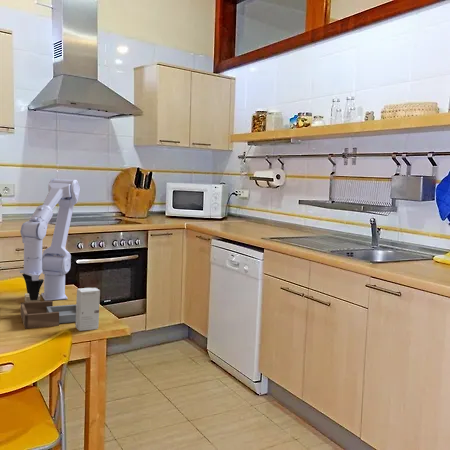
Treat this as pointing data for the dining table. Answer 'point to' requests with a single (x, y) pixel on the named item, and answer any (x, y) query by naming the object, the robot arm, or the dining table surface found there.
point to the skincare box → (87, 308)
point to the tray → (64, 312)
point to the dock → (38, 314)
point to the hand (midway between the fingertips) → (32, 297)
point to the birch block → (27, 298)
